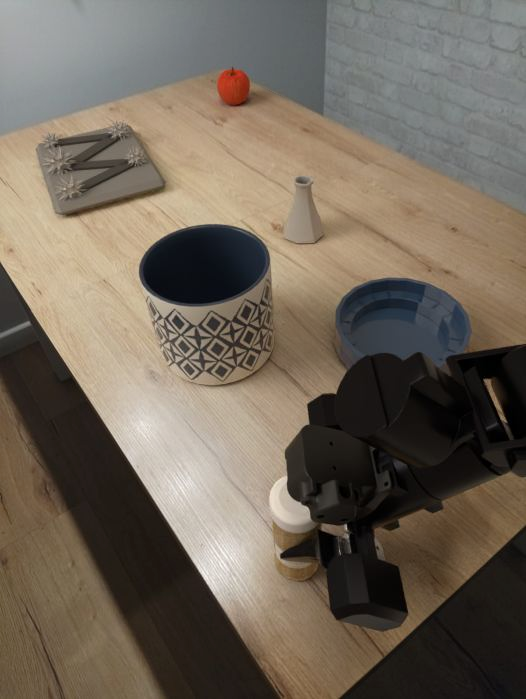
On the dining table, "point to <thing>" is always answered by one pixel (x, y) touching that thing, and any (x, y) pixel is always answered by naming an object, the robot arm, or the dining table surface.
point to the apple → (233, 86)
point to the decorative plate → (96, 168)
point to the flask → (303, 214)
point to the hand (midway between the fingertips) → (281, 532)
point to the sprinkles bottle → (290, 530)
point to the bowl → (400, 322)
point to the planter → (210, 302)
